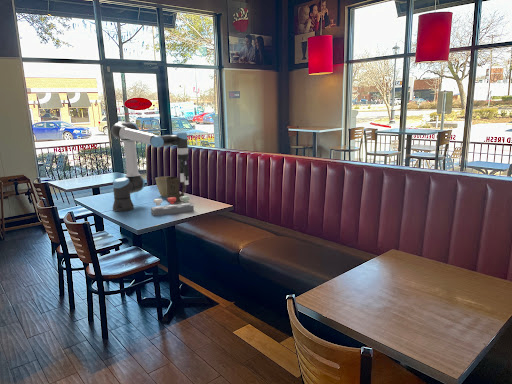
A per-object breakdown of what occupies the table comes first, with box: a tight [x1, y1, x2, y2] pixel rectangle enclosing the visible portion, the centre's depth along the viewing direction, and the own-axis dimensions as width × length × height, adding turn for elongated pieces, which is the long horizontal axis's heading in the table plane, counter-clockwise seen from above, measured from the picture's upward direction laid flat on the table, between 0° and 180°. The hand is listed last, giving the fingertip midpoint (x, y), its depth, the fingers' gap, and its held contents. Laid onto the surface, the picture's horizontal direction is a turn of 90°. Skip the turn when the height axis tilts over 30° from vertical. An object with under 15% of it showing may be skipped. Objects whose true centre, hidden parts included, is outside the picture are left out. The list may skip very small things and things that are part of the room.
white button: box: [153, 198, 163, 207], centre depth 268 cm, size 6×6×4 cm
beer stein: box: [166, 176, 186, 203], centre depth 308 cm, size 15×11×20 cm
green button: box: [180, 195, 191, 203], centre depth 276 cm, size 6×6×4 cm
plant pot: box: [155, 176, 168, 197], centre depth 328 cm, size 15×15×16 cm
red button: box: [167, 197, 176, 205], centre depth 272 cm, size 6×6×4 cm
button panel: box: [150, 202, 195, 217], centre depth 273 cm, size 29×10×4 cm, turn 115°
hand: (184, 183), depth 273 cm, fingers open, 12 cm apart
